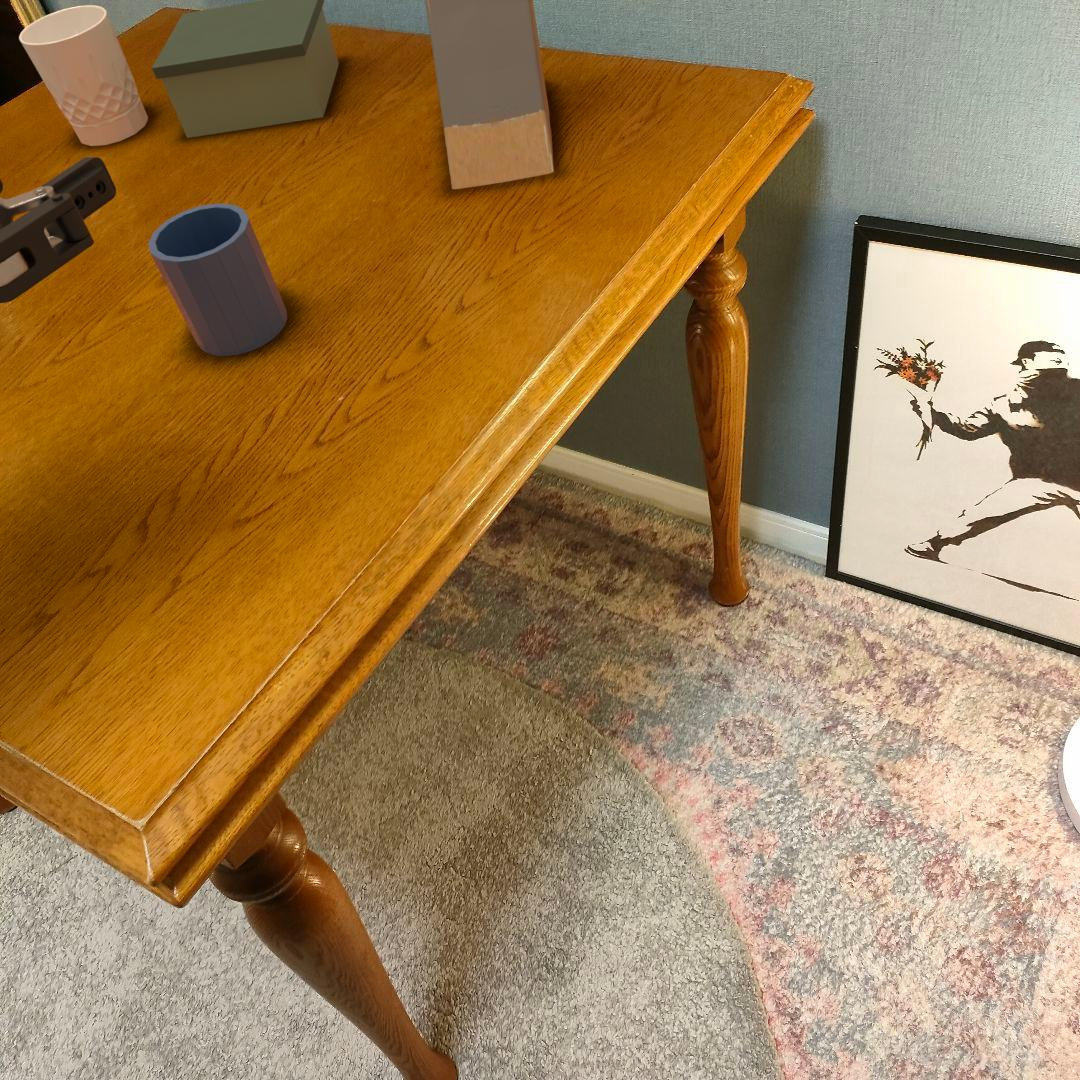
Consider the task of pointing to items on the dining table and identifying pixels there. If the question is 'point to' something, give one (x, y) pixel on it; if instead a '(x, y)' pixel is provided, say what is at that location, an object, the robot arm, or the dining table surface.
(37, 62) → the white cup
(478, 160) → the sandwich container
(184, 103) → the storage box
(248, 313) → the blue cup
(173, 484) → the dining table surface
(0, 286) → the robot arm
